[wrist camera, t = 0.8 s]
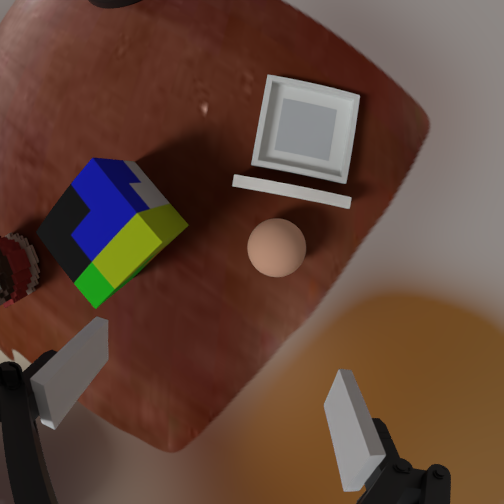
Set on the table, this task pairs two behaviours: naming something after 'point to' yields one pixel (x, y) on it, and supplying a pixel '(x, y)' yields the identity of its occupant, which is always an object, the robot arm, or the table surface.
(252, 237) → the ball
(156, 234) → the puzzle toy
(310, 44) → the table surface
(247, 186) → the low wall
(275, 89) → the light gray square tray
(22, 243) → the cake
